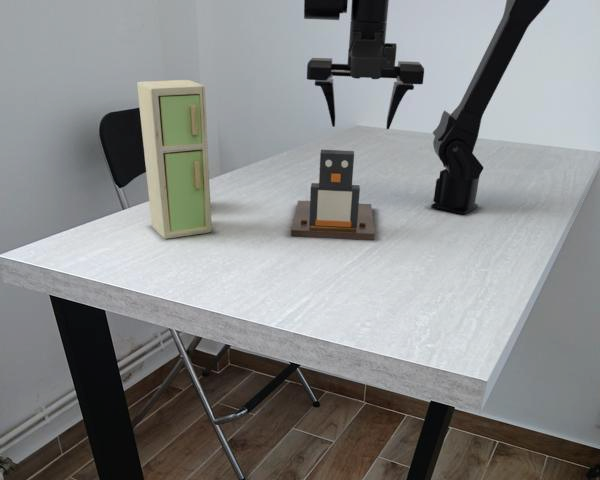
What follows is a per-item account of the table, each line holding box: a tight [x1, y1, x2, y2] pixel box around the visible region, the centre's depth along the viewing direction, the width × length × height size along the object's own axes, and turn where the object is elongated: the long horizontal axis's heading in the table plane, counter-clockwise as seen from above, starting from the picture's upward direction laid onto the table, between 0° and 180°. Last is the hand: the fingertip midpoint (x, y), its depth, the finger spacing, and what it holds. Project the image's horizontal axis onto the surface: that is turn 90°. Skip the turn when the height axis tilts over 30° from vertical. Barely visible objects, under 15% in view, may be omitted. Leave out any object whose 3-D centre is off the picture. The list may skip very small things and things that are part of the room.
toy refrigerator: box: [136, 79, 213, 240], centre depth 96 cm, size 8×7×21 cm
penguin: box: [309, 149, 361, 228], centre depth 99 cm, size 11×8×3 cm
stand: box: [290, 200, 375, 241], centre depth 107 cm, size 16×13×2 cm
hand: (360, 127), depth 109 cm, fingers open, 9 cm apart
